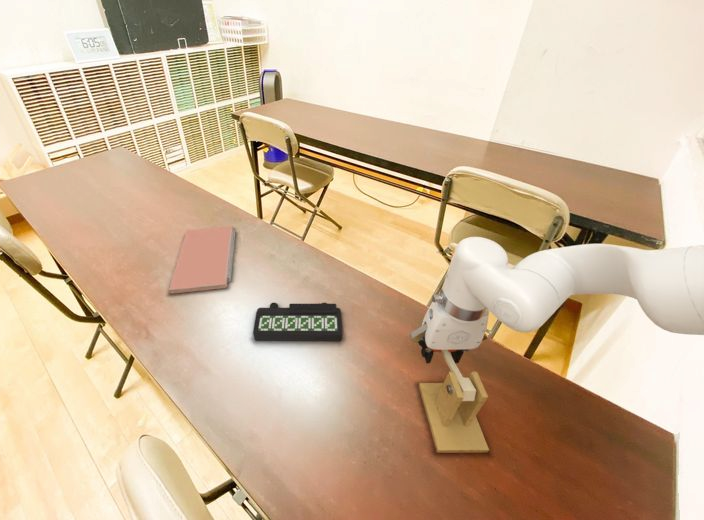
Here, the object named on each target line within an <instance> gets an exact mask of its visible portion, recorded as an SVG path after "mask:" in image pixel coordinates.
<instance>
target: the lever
mask: <svg viewBox="0 0 704 520" xmlns="http://www.w3.org/2000/svg"><path fill="white" fill-rule="evenodd" d="M456 351H457V350H436V349H433V352H434V353H441V355H442V357H443V359H444V361H445V363H446V364H447V366H448V368H449V370H450V372H455V375H456V377H457V380H458V383H459V385H460V388H461V391H462V393H463V396H464V398H463V400H462V401H474V399H475V395H476V389H475V387H474V386H473V384H472V382H471V381H470V379H469V377H464V376H463V375H462V373H461V371H460V369H459V367H458V365H457V363H455V362H454V360H453V358H452V355H451V353H450V352H456Z"/></svg>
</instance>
